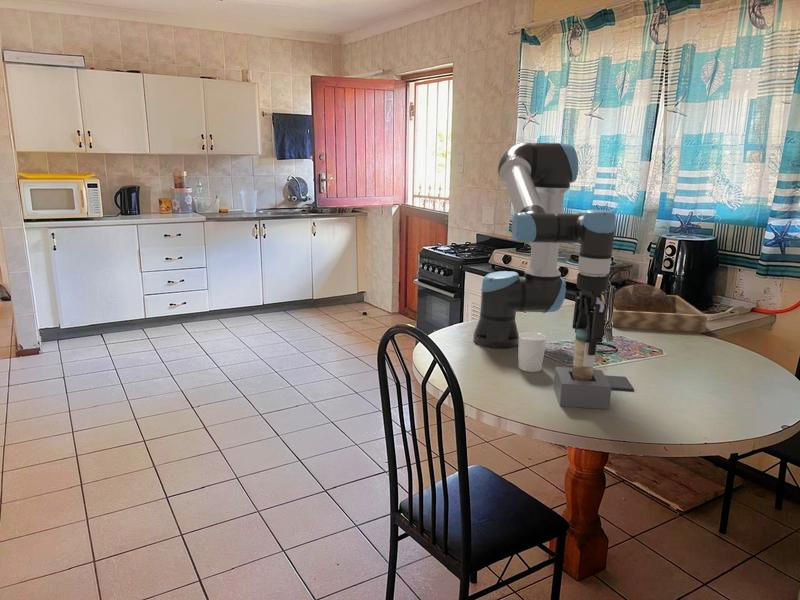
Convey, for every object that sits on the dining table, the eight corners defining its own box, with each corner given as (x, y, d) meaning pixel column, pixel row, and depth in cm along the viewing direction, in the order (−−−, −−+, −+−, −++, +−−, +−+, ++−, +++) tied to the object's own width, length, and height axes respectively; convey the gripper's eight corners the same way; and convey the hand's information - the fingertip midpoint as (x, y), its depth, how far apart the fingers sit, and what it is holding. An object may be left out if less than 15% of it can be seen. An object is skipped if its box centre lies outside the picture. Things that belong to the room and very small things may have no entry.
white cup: (544, 365, 176) (547, 333, 174) (542, 374, 169) (545, 341, 167) (518, 362, 179) (520, 330, 176) (514, 370, 172) (516, 338, 169)
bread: (599, 320, 227) (603, 287, 224) (609, 305, 250) (613, 275, 247) (673, 330, 216) (678, 296, 213) (676, 314, 239) (681, 282, 236)
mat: (599, 388, 160) (599, 386, 160) (593, 376, 169) (593, 374, 169) (633, 390, 159) (634, 388, 159) (625, 378, 168) (625, 376, 168)
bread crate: (611, 326, 218) (613, 311, 217) (594, 305, 249) (595, 291, 248) (704, 332, 215) (707, 316, 213) (675, 309, 246) (677, 295, 244)
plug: (574, 394, 150) (581, 334, 146) (567, 386, 155) (573, 328, 151) (594, 393, 151) (601, 334, 147) (585, 385, 156) (592, 328, 152)
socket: (559, 405, 148) (561, 383, 147) (553, 387, 160) (555, 366, 158) (608, 409, 147) (611, 386, 146) (598, 390, 159) (601, 369, 157)
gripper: (625, 281, 137) (613, 375, 143) (592, 266, 155) (583, 350, 160) (594, 281, 136) (584, 375, 142) (564, 266, 154) (556, 350, 160)
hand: (583, 361), depth 151 cm, fingers closed on plug, 5 cm apart
